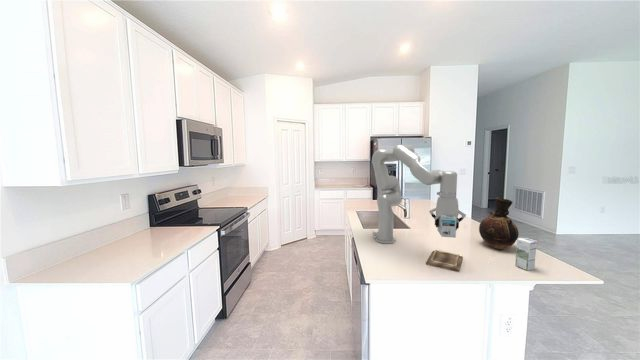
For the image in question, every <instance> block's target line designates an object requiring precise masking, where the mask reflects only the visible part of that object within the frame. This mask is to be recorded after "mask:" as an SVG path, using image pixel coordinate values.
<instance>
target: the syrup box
mask: <svg viewBox="0 0 640 360" xmlns="http://www.w3.org/2000/svg"><path fill="white" fill-rule="evenodd" d="M537 244H538V241H537V240H536V239H535V240H534V239H531V238H529V237H518V238H517V240H516V251H515V252H516V253H515V264H514V265H515V267H518V268H519V269H523V270H525V271H528V272H529V271H532V270H535V268H536V255H537V247H538V246H537Z"/></svg>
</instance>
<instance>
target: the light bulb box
mask: <svg viewBox="0 0 640 360" xmlns="http://www.w3.org/2000/svg"><path fill="white" fill-rule="evenodd" d="M438 219H439V221H438V227H437V229H436V230H437V232H438V233H439V235H440V237H442V238H455V239H456V236H457V230H456V220H457V217H454V216H447V215H441V217H438Z"/></svg>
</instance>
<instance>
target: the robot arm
mask: <svg viewBox="0 0 640 360" xmlns="http://www.w3.org/2000/svg"><path fill="white" fill-rule="evenodd" d="M399 161H400V162H401V163H402V164H403V165H405V166H406V167H407V168H408V169H409V171H410V173H411V175H412V176H413V177H414V178H415V179H416V180H418V181H419V182H420V183H421V184H423V185H426V186H431V185H432V186H433V185H439V191H437V192H436V195H437V196H438V197H437V198H436V199H437V200H436V204H435V205H436V207H435V208H433V209H430V210H429V214H430V215H431V217H432V218H433V219H434V226H435V228H438V221H439V219H438V217H441V215H447V216H454V217H457V220H456V231H457V230H458V229H459V227H460V226H459V225H460V222H461V221H463V220H464V219H465V218H466V216H467V214H465V213H464V212H463V211H462V210H460V209H459V200H458V198H457V189H458V173H457V172H456V171H454V170H453V171H452V170H446V171H445V170H440V169H434V170H432V169H431V170H428V169H427V168H426V167H424V166H423V165H422V164H421V163H420V162H421V156H420V155H418V154H417V153H416V152H415V148H414V147H413V145H410V144H397V145H395V146H394V147H393V148H379V149H377V150H375V151H374V153H373V154H372V156H371V164H372V167H373V170H374V176H375V177H374V178H375V184H376V187H377V189H378V190H379V191H380V192H383V193H380V194H379V195H378V196H377V198H376V202H377V210H378V214H377V215H378V217H377V218H378V224H377V225H378V226H377V229H378V230H377V232H376V231H372V236H374V237H375V241H376V242H377V243H380V244H384V245H385V244H386V245H388V244H389V245H390V244H394V243H396V238H395V237H394V217H395V216H394V210H393V208H394V207H396V206H399V205H400V204H402V203H401V202H402V199H403V196H402V190H401V185H400V181H399V179H398V178H397V176H395V175H390V174H389V170H388V167H387V165H386V164H385V163H389V162H399ZM384 191H385V192H384ZM386 191H387V192H386ZM392 207H393V208H392ZM434 212H435V214H434ZM459 215H460V216H461V217H458V216H459Z"/></svg>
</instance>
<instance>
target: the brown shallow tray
mask: <svg viewBox="0 0 640 360" xmlns="http://www.w3.org/2000/svg"><path fill="white" fill-rule="evenodd" d="M463 259H464V256H463V255H460V254H458V253H453V252H448V251H442V250H437V249H435V250H432V251H431V253H430V255H429V257H427V260H426V262H425V264H426V266H431V267H435V268H439V269H444V270H448V271H453V272H456V273H460V270H461V267H462V262H463Z"/></svg>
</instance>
